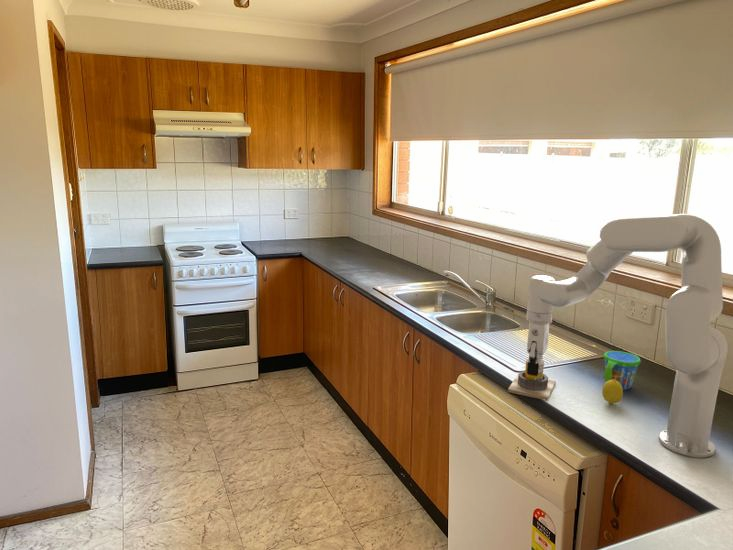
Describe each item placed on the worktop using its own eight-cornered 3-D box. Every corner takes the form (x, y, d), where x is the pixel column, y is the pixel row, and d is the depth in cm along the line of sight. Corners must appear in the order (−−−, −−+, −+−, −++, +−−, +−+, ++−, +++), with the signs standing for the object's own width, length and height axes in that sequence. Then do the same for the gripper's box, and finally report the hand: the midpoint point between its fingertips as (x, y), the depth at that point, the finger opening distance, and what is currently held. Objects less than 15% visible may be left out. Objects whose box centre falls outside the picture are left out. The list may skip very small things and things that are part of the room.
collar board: (547, 400, 167) (549, 388, 166) (507, 391, 172) (508, 379, 171) (555, 384, 179) (556, 372, 178) (517, 376, 184) (519, 365, 184)
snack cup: (618, 375, 187) (622, 347, 185) (648, 387, 178) (652, 357, 176) (588, 384, 179) (592, 355, 177) (617, 397, 171) (621, 366, 168)
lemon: (624, 404, 165) (627, 379, 164) (616, 410, 162) (619, 384, 160) (605, 398, 169) (608, 374, 167) (597, 404, 165) (600, 379, 164)
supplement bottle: (526, 376, 179) (529, 348, 177) (543, 380, 176) (546, 351, 174) (522, 382, 174) (525, 353, 172) (539, 386, 171) (542, 356, 169)
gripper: (547, 325, 161) (541, 383, 165) (556, 311, 176) (551, 365, 180) (520, 321, 165) (516, 378, 169) (532, 307, 180) (527, 360, 183)
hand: (534, 370), depth 174 cm, fingers closed on supplement bottle, 5 cm apart
